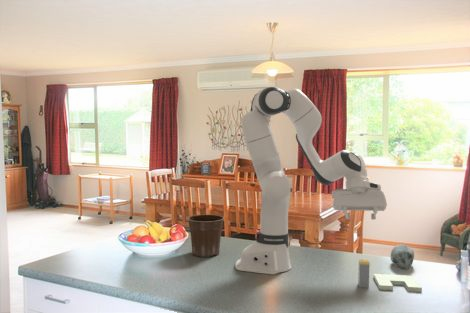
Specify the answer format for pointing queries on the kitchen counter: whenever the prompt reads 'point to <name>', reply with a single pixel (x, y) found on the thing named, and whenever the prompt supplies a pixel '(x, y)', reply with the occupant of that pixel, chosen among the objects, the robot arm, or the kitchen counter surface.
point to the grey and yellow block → (363, 273)
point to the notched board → (397, 282)
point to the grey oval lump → (402, 256)
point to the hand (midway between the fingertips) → (360, 218)
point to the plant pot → (205, 234)
